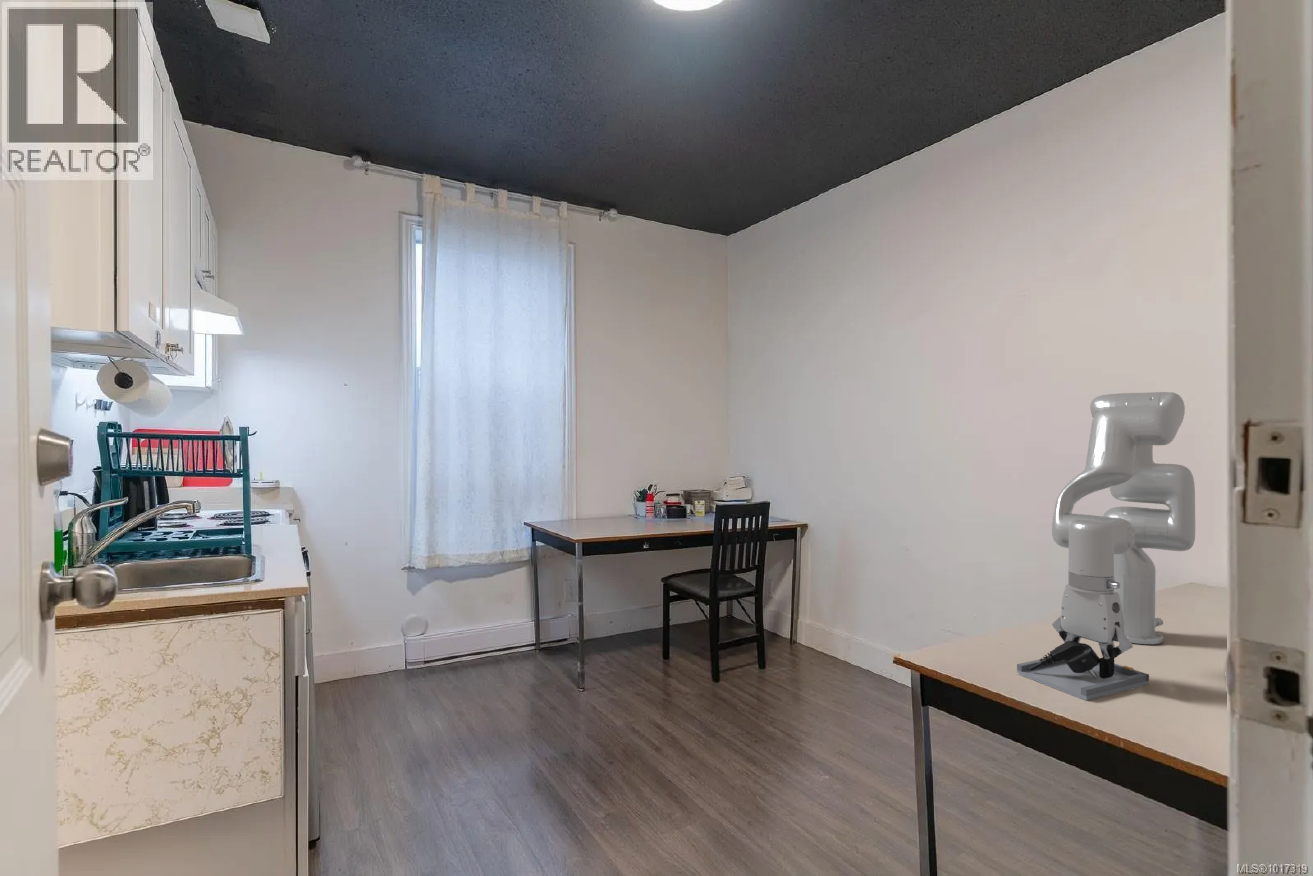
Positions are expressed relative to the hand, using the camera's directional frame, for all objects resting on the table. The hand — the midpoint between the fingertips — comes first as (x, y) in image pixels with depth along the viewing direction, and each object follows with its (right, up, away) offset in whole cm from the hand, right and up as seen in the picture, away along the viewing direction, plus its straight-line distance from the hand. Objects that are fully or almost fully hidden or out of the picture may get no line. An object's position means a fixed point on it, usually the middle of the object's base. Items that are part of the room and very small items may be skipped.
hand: (1090, 670), depth 126 cm
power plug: (-5, -1, 0) cm, 5 cm away
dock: (-2, -2, 0) cm, 2 cm away
